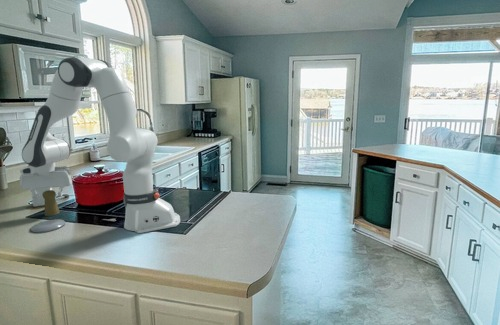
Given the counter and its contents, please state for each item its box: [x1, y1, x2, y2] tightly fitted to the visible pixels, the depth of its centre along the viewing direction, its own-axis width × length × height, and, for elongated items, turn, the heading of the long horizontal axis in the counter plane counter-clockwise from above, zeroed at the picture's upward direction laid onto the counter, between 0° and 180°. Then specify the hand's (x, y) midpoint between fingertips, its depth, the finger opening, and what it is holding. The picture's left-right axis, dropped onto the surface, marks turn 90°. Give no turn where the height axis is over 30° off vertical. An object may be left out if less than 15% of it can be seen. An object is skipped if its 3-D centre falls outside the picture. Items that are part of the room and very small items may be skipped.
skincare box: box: [31, 188, 53, 207], centre depth 162 cm, size 8×6×15 cm
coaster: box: [30, 218, 66, 234], centre depth 134 cm, size 12×12×1 cm
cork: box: [42, 189, 61, 217], centre depth 148 cm, size 6×6×11 cm
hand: (48, 196), depth 148 cm, fingers open, 8 cm apart
